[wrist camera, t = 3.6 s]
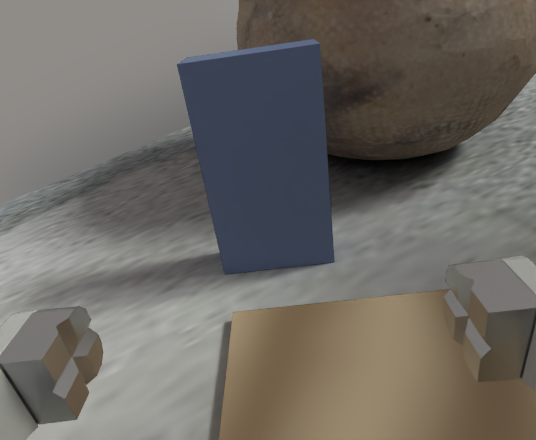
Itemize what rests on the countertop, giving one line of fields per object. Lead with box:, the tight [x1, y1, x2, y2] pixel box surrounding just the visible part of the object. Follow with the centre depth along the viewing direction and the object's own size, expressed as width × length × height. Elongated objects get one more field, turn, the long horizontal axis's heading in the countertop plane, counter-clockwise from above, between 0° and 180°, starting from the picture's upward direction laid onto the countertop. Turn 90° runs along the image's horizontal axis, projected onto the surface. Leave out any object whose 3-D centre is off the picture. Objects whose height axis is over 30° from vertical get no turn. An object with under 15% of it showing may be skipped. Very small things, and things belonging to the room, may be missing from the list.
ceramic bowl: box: [237, 0, 536, 160], centre depth 30 cm, size 22×22×15 cm
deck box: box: [177, 39, 334, 274], centre depth 18 cm, size 6×2×10 cm, turn 90°
